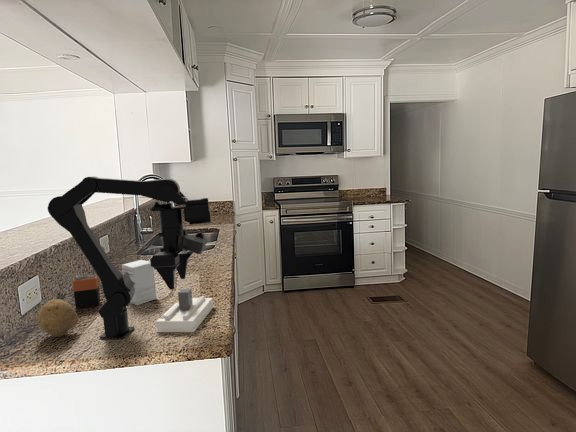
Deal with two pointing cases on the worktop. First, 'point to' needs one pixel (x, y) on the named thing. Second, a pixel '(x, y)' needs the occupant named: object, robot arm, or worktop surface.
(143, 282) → the supplement box
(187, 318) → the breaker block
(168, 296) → the worktop surface
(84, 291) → the battery
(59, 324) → the tan rounded lump
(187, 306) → the switch knob
